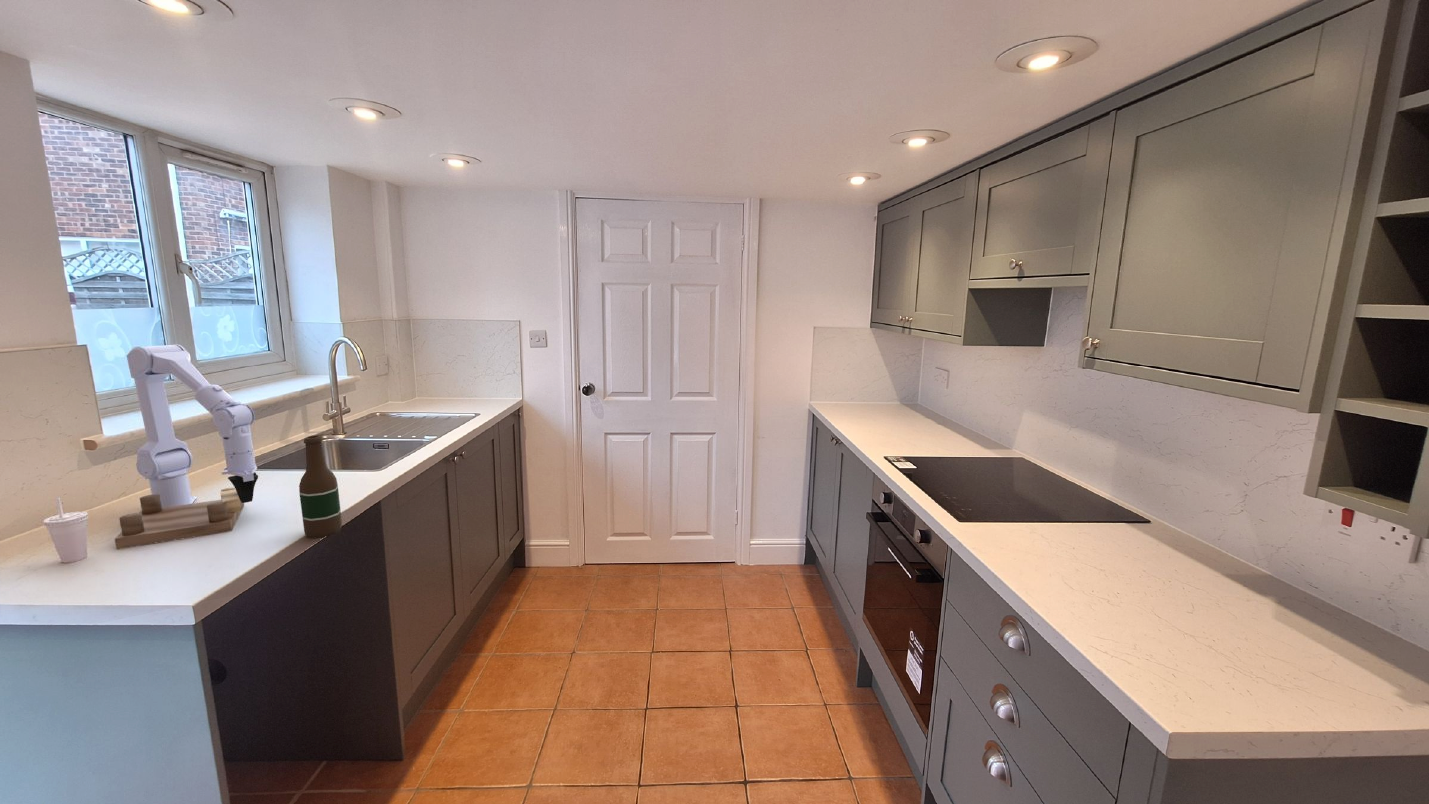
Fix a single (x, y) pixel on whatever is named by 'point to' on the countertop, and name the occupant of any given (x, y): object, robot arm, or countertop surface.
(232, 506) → the oak leg
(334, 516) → the beer bottle
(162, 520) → the stool seat
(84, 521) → the smoothie
